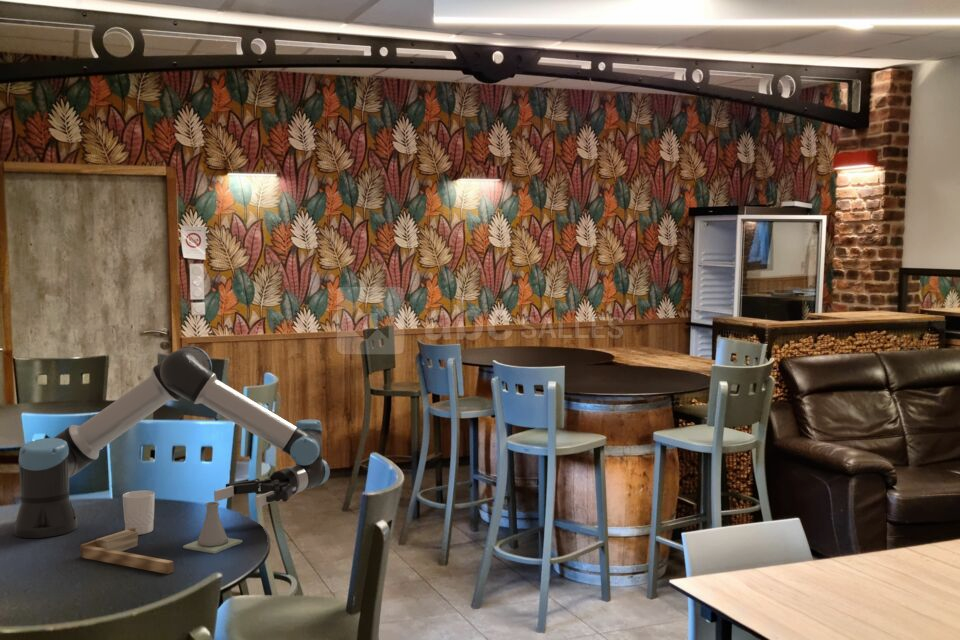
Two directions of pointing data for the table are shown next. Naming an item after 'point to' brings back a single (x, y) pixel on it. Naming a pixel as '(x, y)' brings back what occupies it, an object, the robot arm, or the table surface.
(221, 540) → the flask
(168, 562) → the corner fence
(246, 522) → the table surface
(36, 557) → the table surface
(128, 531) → the offcut top
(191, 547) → the coaster
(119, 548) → the offcut low
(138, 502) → the white cup
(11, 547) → the table surface
